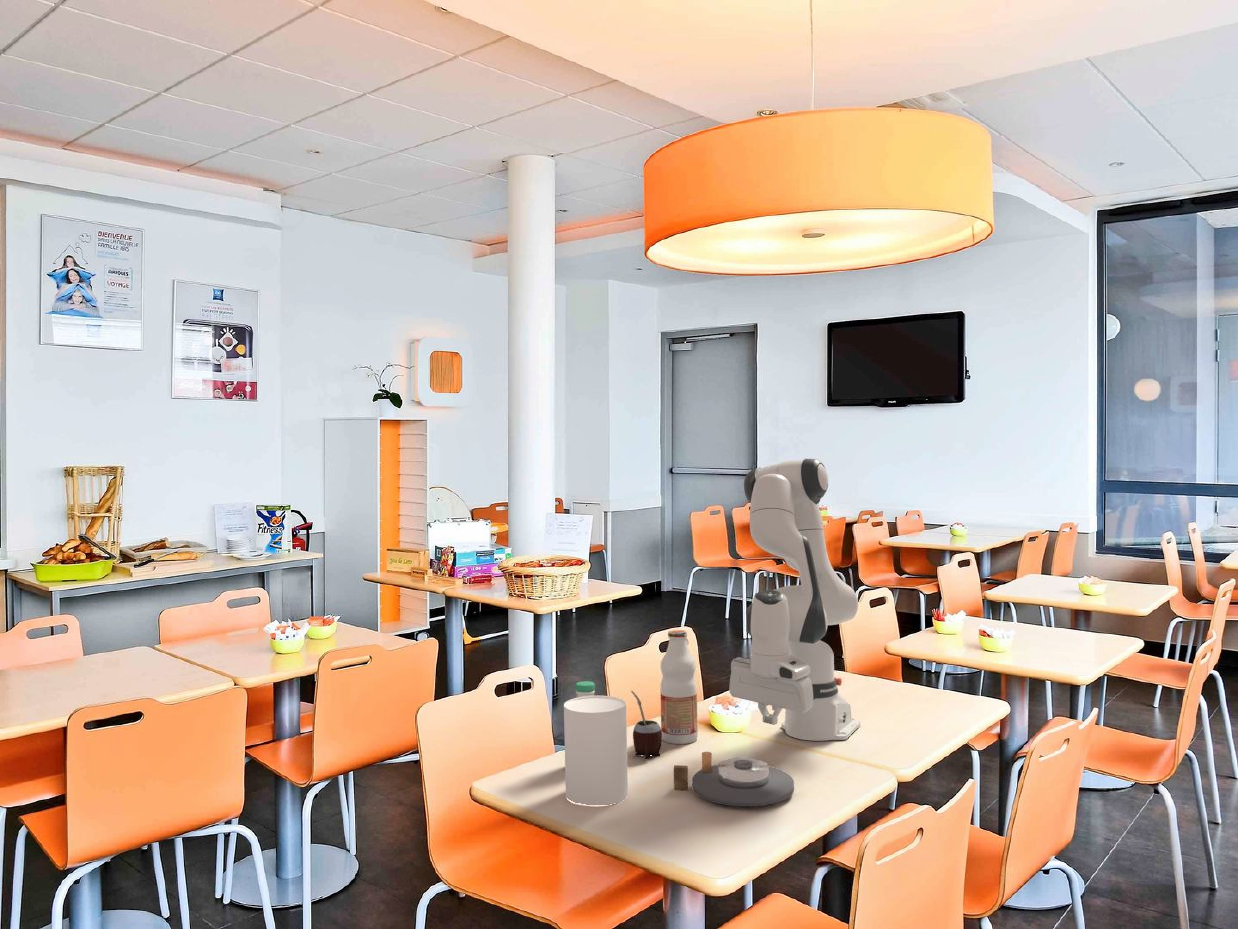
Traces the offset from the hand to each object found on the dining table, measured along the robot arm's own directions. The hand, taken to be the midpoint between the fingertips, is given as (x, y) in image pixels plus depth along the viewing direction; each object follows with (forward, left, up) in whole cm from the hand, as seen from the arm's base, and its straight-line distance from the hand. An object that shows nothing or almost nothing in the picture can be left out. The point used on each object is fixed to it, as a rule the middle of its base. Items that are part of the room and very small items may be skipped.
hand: (770, 723), depth 211 cm
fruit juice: (-9, -33, -12) cm, 36 cm away
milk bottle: (+21, -38, -12) cm, 45 cm away
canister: (+33, -24, -12) cm, 42 cm away
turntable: (+12, 0, -12) cm, 17 cm away
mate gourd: (+6, -32, -12) cm, 35 cm away
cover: (+12, 0, -10) cm, 15 cm away
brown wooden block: (+19, -11, -12) cm, 25 cm away
